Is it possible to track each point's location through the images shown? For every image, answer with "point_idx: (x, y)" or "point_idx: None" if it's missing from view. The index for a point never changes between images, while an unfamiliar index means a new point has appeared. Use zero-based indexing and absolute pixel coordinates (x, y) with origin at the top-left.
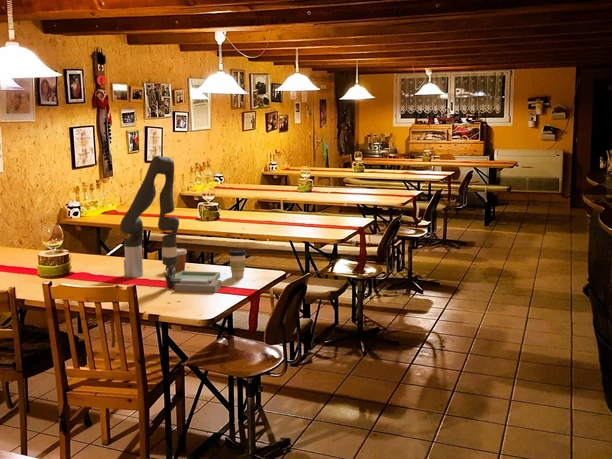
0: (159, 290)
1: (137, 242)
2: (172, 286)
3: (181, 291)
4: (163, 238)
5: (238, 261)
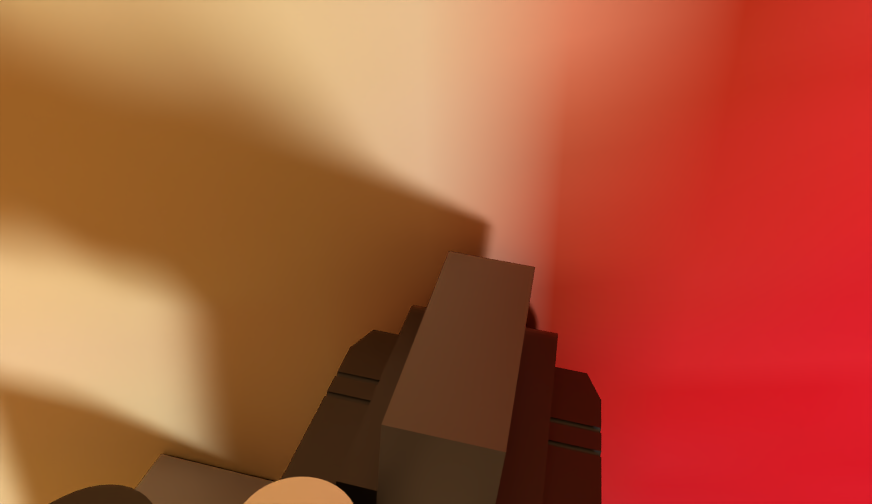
0: (143, 38)
1: None
2: None
3: None
4: None
5: None
